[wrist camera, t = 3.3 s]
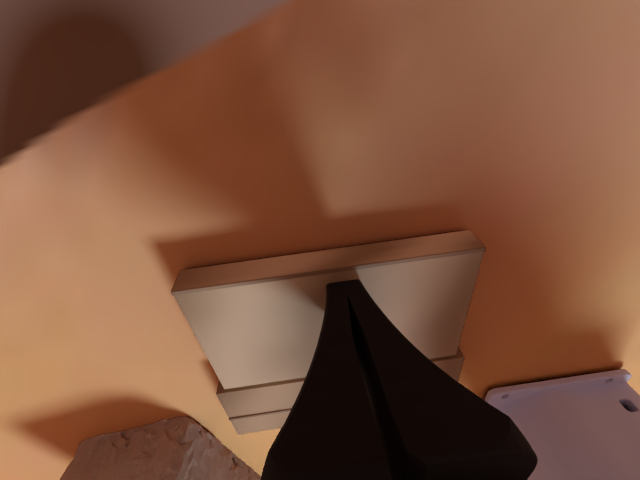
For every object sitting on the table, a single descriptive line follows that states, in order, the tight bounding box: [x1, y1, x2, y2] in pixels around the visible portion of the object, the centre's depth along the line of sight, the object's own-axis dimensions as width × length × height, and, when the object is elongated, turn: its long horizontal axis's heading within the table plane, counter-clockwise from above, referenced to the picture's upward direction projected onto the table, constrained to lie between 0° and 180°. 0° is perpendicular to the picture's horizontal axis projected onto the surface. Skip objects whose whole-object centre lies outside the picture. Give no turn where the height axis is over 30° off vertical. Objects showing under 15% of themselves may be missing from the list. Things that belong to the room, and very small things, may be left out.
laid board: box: [216, 347, 464, 434], centre depth 17 cm, size 13×4×1 cm, turn 96°
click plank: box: [171, 230, 486, 389], centre depth 14 cm, size 12×7×1 cm, turn 96°
